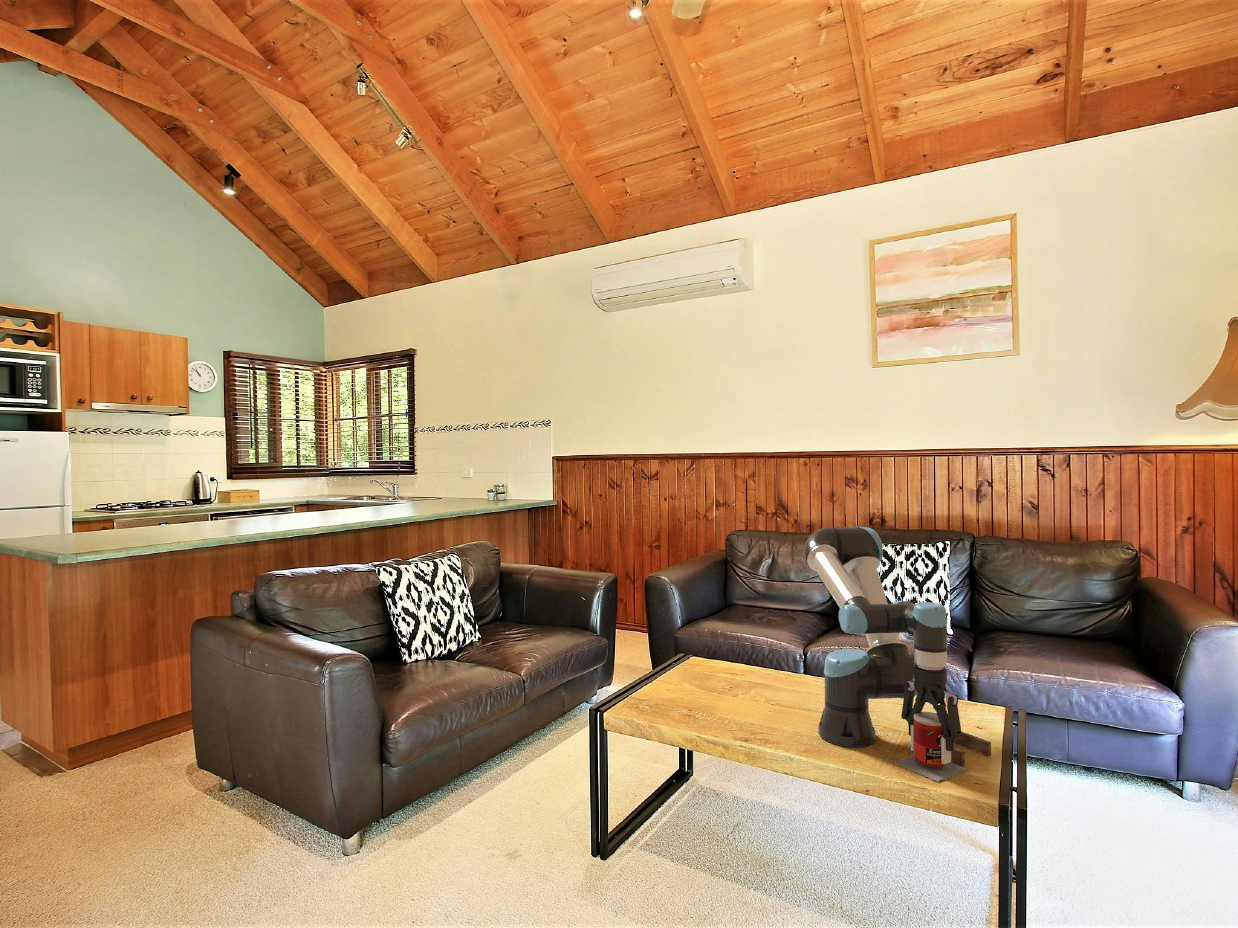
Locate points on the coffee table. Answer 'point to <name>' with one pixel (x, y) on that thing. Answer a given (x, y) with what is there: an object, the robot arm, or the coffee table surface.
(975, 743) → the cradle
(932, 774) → the mat
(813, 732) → the coffee table surface
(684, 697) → the coffee table surface
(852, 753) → the coffee table surface
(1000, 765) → the coffee table surface
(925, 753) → the canned food
